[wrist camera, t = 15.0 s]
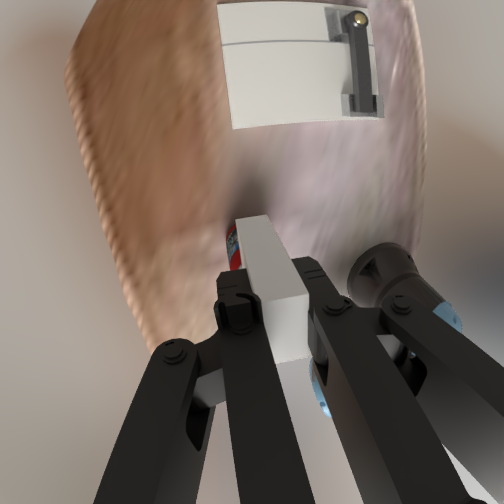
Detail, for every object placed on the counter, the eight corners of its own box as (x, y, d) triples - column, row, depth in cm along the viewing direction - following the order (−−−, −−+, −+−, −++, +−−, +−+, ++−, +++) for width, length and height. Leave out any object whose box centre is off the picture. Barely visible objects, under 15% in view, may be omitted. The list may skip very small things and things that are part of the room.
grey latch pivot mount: (363, 44, 37) (372, 41, 34) (328, 41, 36) (336, 38, 34) (358, 12, 34) (367, 8, 31) (323, 8, 34) (331, 3, 31)
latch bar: (342, 12, 31) (350, 8, 29) (361, 14, 32) (368, 11, 30) (351, 111, 39) (359, 112, 37) (369, 112, 39) (377, 113, 37)
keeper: (369, 115, 42) (386, 117, 38) (342, 115, 42) (357, 117, 38) (368, 94, 41) (385, 95, 36) (340, 94, 40) (355, 93, 36)
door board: (376, 119, 44) (380, 120, 43) (232, 128, 42) (232, 129, 41) (365, 10, 35) (368, 8, 34) (216, 6, 33) (217, 4, 32)
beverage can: (230, 215, 48) (238, 248, 38) (270, 223, 50) (289, 257, 39) (221, 252, 51) (226, 293, 40) (259, 259, 53) (273, 300, 42)
